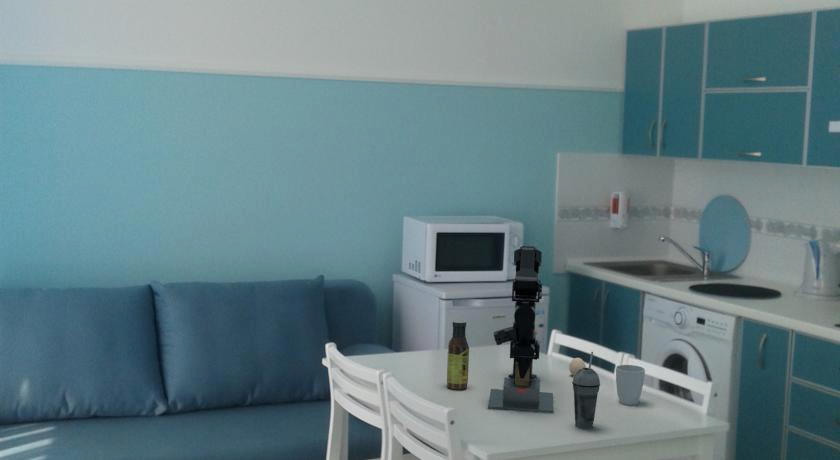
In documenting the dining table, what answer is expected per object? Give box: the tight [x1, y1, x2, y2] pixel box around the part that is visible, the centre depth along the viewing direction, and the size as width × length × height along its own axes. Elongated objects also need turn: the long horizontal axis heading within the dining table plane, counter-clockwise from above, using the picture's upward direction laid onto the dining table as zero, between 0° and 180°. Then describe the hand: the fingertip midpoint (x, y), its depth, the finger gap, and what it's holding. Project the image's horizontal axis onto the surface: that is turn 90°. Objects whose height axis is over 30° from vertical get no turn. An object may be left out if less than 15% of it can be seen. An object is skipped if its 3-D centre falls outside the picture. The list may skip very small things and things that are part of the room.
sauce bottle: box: [446, 319, 470, 391], centre depth 296 cm, size 6×6×20 cm
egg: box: [568, 357, 587, 376], centre depth 314 cm, size 5×5×6 cm
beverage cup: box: [572, 351, 601, 430], centre depth 262 cm, size 7×7×20 cm
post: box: [515, 362, 530, 386], centre depth 283 cm, size 4×4×10 cm
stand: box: [487, 377, 555, 414], centre depth 284 cm, size 18×18×6 cm
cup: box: [615, 364, 646, 406], centre depth 286 cm, size 8×8×10 cm
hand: (522, 374), depth 283 cm, fingers open, 9 cm apart
